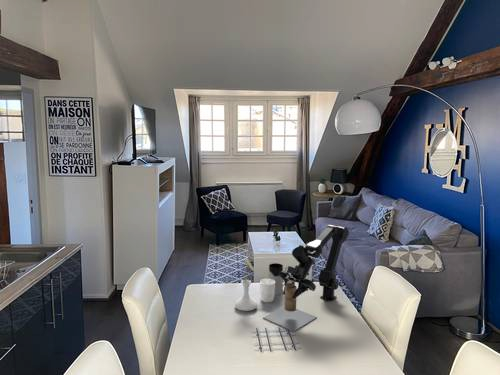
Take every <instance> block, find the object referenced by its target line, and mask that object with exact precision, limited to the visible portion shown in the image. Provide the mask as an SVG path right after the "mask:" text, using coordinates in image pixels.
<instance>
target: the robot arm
mask: <svg viewBox="0 0 500 375" xmlns="http://www.w3.org/2000/svg"><path fill="white" fill-rule="evenodd" d="M349 234H350V231H349V229H348V227H346V226H341V225H334V224H327V225H326V227H325V229H324V230H323V231H322V232H321V233H320V235H319V236H317V238H316V239H314V240H313V241H309V242H308V243H307V244H306V245H305V246H304V245H300V244H299V245H298V246H296V247H295V248H293V249H292V251H291V255H292V257H293V258H294V259H295V260H296V261H297V263H298V265H295V266H289V265H288V266H287V267H288V268H287V269H286V272H285V270H283V271H281V272H280V273H279V276H280V277H281V278H282V279H283V282H284V283H285V285H284V286H283V294H282V295H284V296H285V286H286V285H287V282H288V281H293V282H295V283H297V290H296V292H295V294H294V296H293V298H294V299H295V298H296V299H297V298H298V297H299V296H301V295H302V294H303V293H305V292H308V291H309V290H310V291H312V292H315V291H316V289H317V288H316V284H315V283H314V281H313V280H311V279H309V278H307V276H310V273H309V272H310V270H311V268H312V266H315V265H316V261H315V259H317V258H319V257H320V256H321V255H322V253H323V248H324V247H325V245H326V244H327V243H328V242H329V241H330V240H331V239H332V242H331V246H330V250H329V253H328V256H327V260H326V265H325V267H324V268H322V269H320V271H319V275H318V279H317V280H318V283H319V284H318V285H319V287H322V294H321V296H320V297H319V298H321V299H323V300H325V301H328V302H332V301H334V300H335V299H337V296H336V295H335V290H336V291H337V290H338V289H339V282H338V281H337V273H336V267H337V263H338V260H339V256H340V252H341V248H342V245H343V244H344V242H346V240H347V238H348V237H349ZM291 275H292V276H291Z"/></svg>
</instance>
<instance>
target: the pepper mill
mask: <svg viewBox="0 0 500 375" xmlns="http://www.w3.org/2000/svg"><path fill="white" fill-rule="evenodd" d="M284 286H285V285H284ZM297 288H298V286H297V285H296V282H294V281H288V282H287V285H286V286H285V295H284V306H285V310H286V311H290V312H292V311H295V310H296V309H297V297H296V298H295V299H294V298H293V296H294V294H295V292H296V290H297Z"/></svg>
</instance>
